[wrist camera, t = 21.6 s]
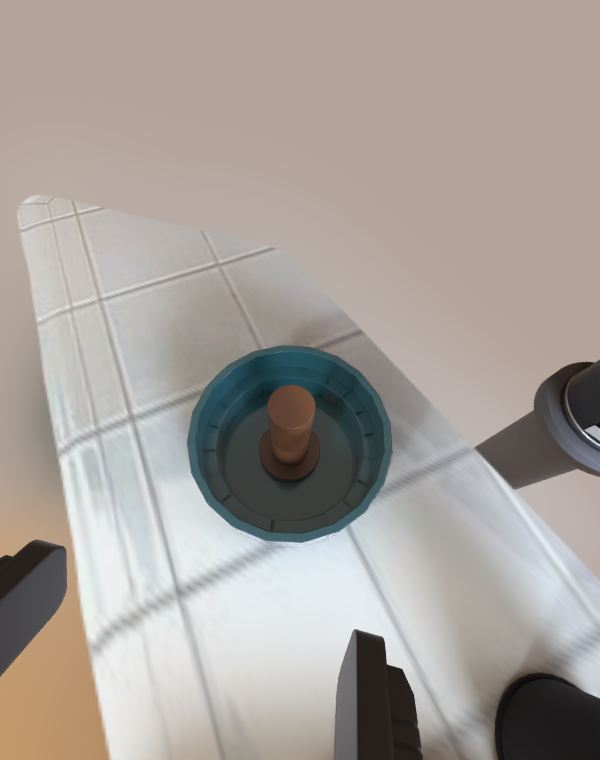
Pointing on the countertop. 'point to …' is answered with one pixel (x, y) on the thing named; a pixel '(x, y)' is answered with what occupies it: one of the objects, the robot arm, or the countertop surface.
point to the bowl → (330, 424)
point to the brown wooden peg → (290, 435)
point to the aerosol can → (547, 721)
